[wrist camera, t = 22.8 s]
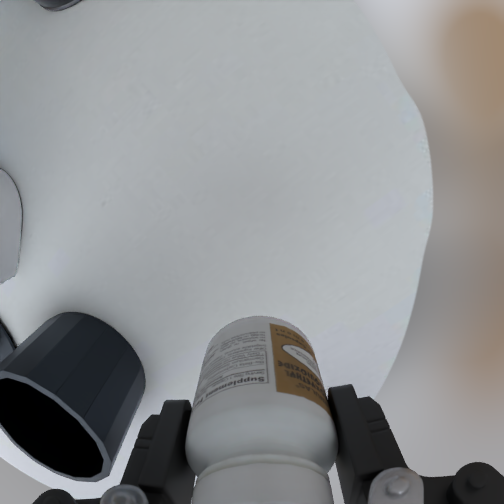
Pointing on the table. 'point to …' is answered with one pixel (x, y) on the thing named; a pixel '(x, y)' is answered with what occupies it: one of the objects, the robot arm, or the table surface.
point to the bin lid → (5, 344)
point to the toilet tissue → (9, 227)
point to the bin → (71, 395)
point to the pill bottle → (261, 419)
